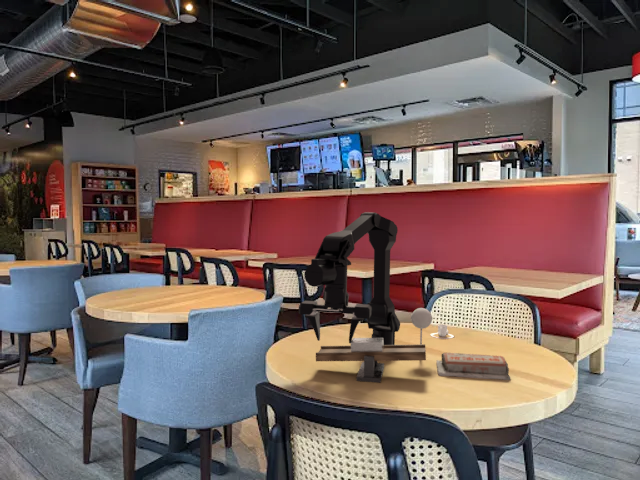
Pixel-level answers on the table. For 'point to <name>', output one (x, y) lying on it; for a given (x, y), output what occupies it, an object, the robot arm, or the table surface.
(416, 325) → the lollipop
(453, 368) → the packaged product
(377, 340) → the block
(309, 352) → the table surface
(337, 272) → the robot arm
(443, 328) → the teacup and saucer
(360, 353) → the beam
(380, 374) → the stand
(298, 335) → the table surface
